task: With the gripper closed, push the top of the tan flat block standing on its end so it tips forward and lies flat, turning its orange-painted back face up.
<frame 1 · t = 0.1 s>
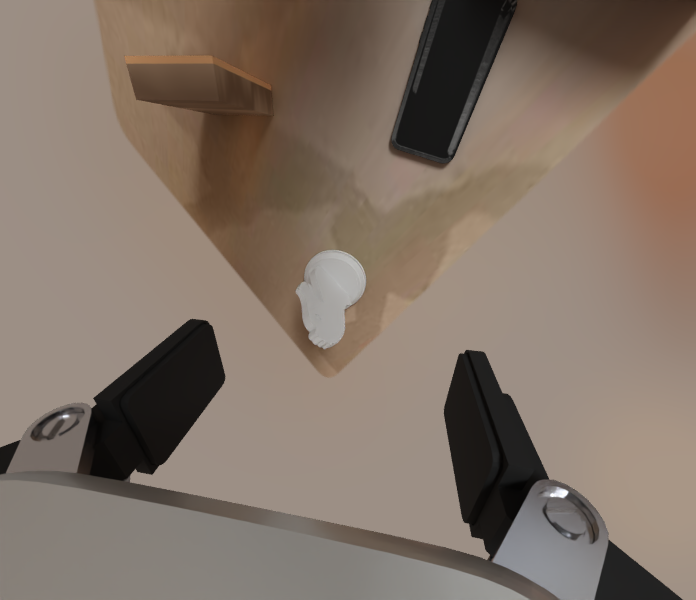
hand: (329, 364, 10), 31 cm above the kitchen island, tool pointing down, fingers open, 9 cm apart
tan flat block: (241, 100, 34), on the kitchen island
phone: (444, 82, 31), on the kitchen island
chess piece: (335, 278, 44), on the kitchen island
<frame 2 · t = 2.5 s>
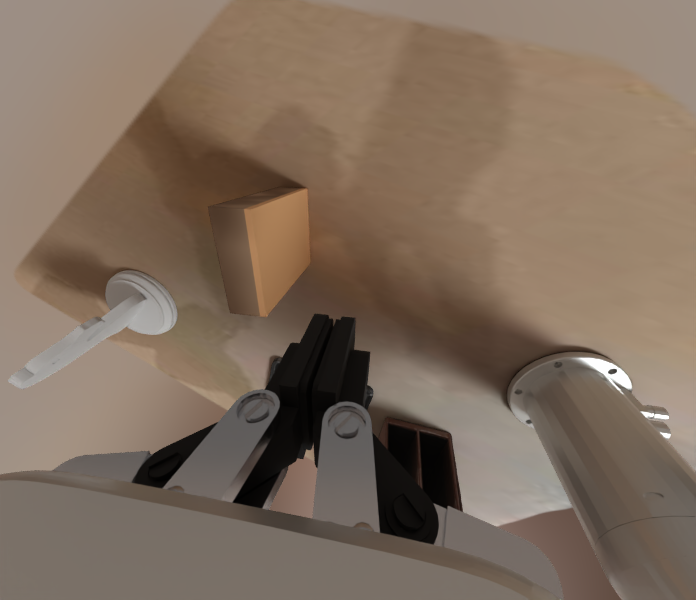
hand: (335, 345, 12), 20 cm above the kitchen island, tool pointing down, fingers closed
tan flat block: (295, 227, 30), on the kitchen island
letter holder: (401, 460, 46), on the kitchen island
chess piece: (146, 301, 39), on the kitchen island
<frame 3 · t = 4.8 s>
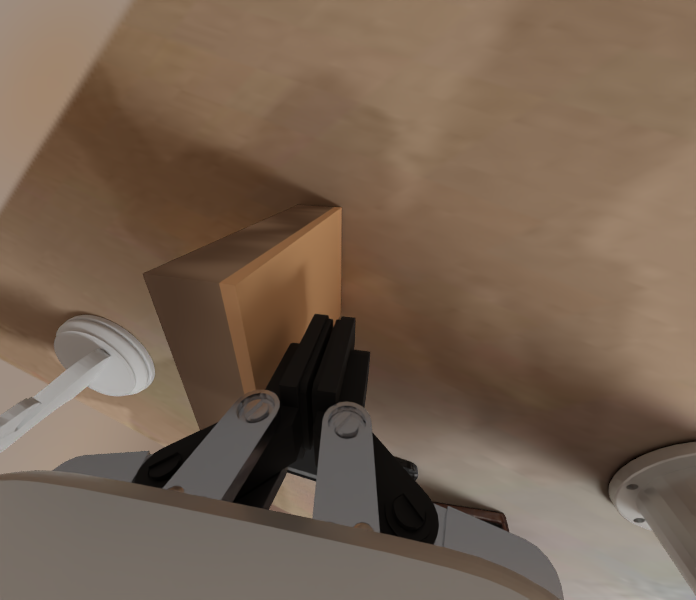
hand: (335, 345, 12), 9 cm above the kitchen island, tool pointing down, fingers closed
tan flat block: (321, 263, 20), on the kitchen island, touching gripper
phone: (345, 458, 32), on the kitchen island
letter holder: (446, 541, 37), on the kitchen island
chess piece: (112, 353, 29), on the kitchen island
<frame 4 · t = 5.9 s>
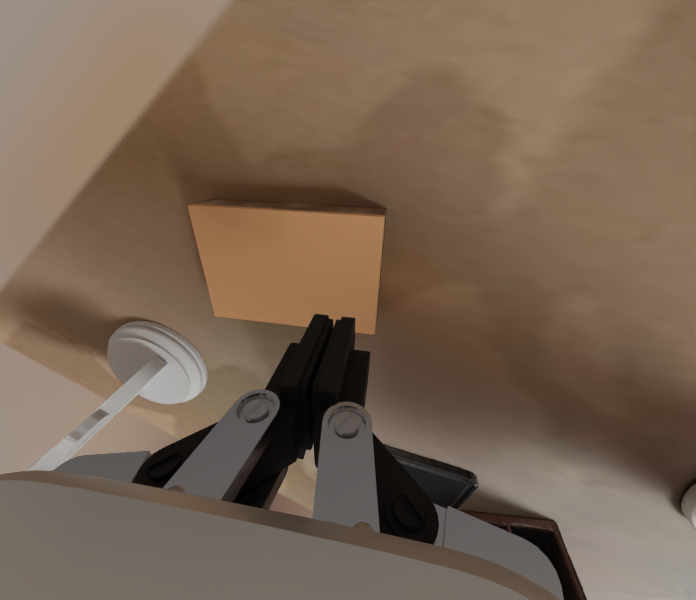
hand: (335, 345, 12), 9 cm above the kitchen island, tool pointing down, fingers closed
tan flat block: (380, 273, 18), point 1 cm above the kitchen island, tilted 90°
phone: (398, 467, 31), on the kitchen island
letter holder: (494, 551, 36), on the kitchen island
chess piece: (163, 359, 28), on the kitchen island
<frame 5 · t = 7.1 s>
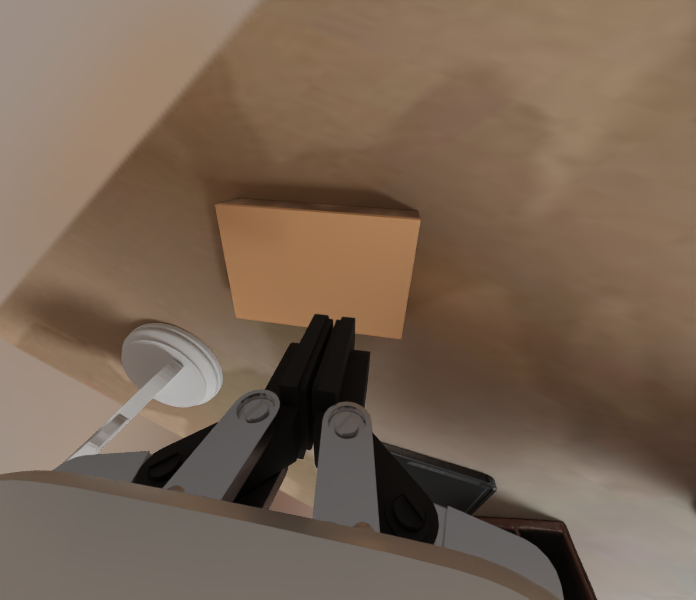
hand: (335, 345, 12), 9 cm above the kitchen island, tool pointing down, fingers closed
tan flat block: (409, 276, 18), point 1 cm above the kitchen island, tilted 90°
phone: (414, 470, 31), on the kitchen island
letter holder: (509, 554, 36), on the kitchen island
chess piece: (178, 362, 28), on the kitchen island
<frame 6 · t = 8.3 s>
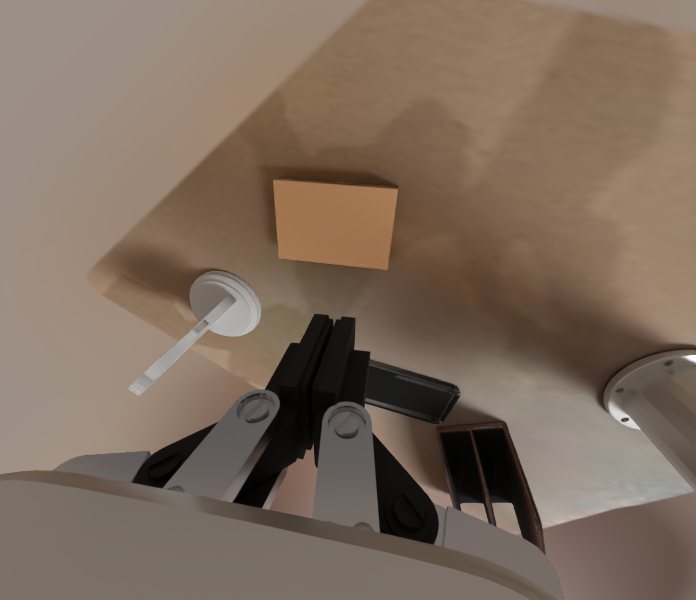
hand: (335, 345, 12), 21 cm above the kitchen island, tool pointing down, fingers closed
tan flat block: (392, 228, 28), point 1 cm above the kitchen island, tilted 90°
phone: (401, 387, 41), on the kitchen island
letter holder: (476, 461, 46), on the kitchen island
chess piece: (228, 302, 38), on the kitchen island
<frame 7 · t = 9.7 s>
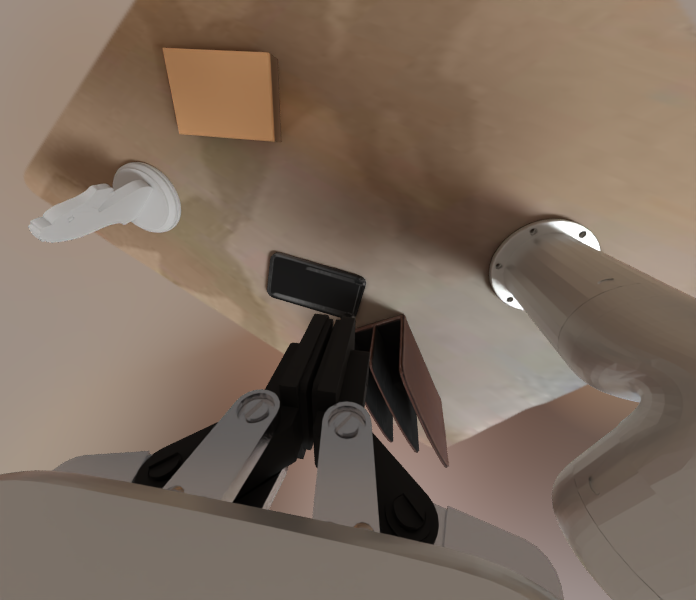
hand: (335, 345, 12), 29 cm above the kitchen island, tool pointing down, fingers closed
tan flat block: (276, 101, 32), point 1 cm above the kitchen island, tilted 90°
phone: (316, 284, 44), on the kitchen island
letter holder: (396, 364, 49), on the kitchen island
chess piece: (151, 198, 41), on the kitchen island
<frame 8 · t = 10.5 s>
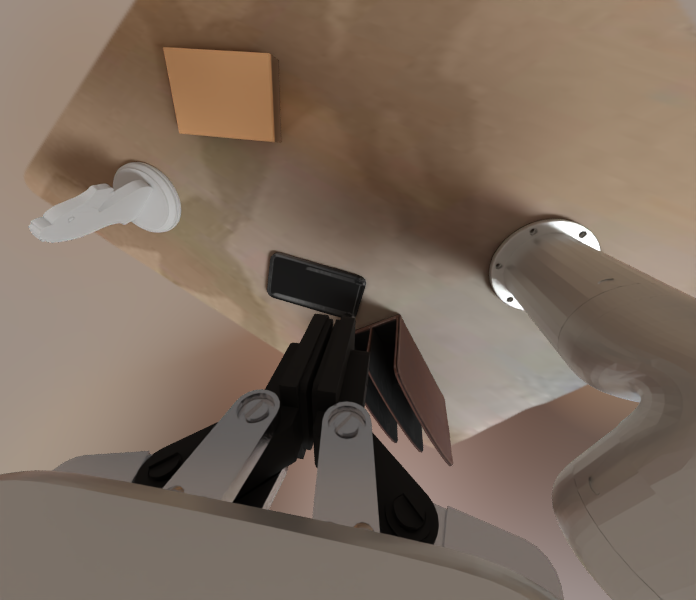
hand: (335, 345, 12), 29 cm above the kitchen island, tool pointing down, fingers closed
tan flat block: (276, 102, 32), point 1 cm above the kitchen island, tilted 90°
phone: (316, 284, 44), on the kitchen island
letter holder: (397, 365, 49), on the kitchen island
chess piece: (151, 198, 41), on the kitchen island
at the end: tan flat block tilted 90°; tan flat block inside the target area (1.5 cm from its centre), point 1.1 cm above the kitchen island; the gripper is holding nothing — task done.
